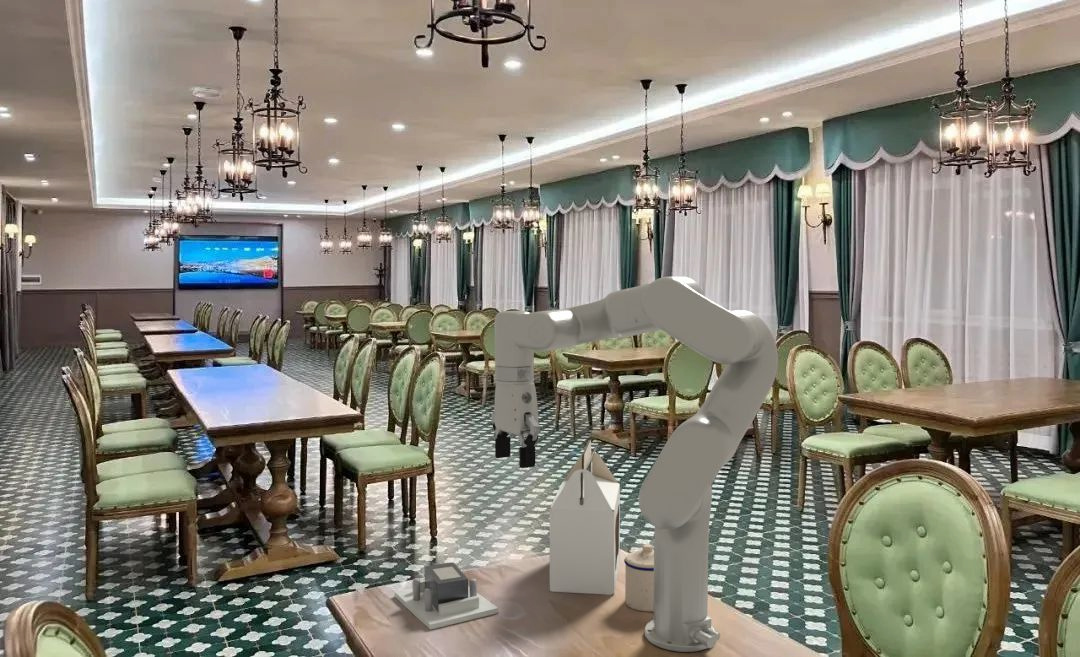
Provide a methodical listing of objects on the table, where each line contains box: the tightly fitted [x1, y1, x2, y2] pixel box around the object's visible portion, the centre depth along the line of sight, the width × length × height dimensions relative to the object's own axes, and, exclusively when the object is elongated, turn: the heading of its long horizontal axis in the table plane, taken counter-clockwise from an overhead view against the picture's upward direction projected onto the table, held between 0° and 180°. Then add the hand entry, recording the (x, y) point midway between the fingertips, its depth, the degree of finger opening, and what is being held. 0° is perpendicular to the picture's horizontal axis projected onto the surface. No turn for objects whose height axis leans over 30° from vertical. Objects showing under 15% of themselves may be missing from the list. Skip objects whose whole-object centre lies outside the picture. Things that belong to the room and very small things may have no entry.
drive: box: [424, 561, 469, 612], centre depth 157 cm, size 10×6×6 cm, turn 23°
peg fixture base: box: [394, 568, 499, 631], centre depth 157 cm, size 18×14×5 cm
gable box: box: [549, 439, 621, 596], centre depth 173 cm, size 22×13×28 cm, turn 171°
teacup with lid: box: [623, 543, 654, 613], centre depth 159 cm, size 12×9×12 cm
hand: (514, 462), depth 156 cm, fingers open, 9 cm apart
